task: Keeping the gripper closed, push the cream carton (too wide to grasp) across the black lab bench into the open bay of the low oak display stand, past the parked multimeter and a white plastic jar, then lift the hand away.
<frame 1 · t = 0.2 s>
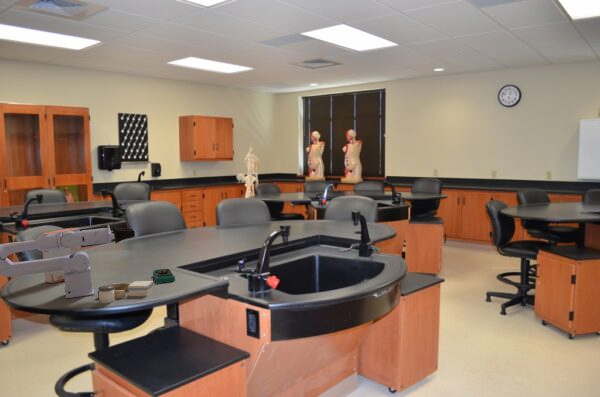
hand: (133, 232, 181), 22 cm above the worktop, tool horizontal, fingers open, 7 cm apart
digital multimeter: (163, 279, 196), on the worktop
display stand: (119, 293, 175), on the worktop
jar: (107, 301, 166), on the worktop
cracker box: (64, 279, 198), on the worktop
carton: (141, 293, 175), on the worktop
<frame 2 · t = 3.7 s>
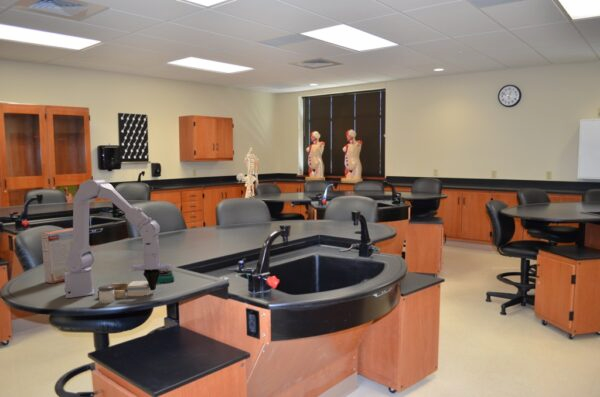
hand: (153, 289, 174), 1 cm above the worktop, tool pointing down, fingers closed
carton: (140, 293, 175), on the worktop, touching gripper
everything else where it was.
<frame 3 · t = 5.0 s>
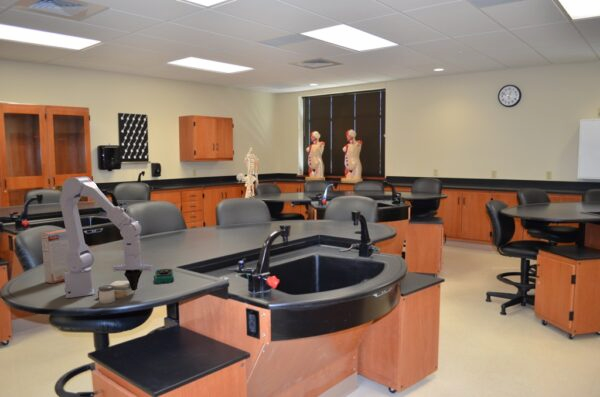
hand: (134, 289, 175), 1 cm above the worktop, tool pointing down, fingers closed
carton: (122, 293, 175), on the worktop, touching gripper
everything else where it was.
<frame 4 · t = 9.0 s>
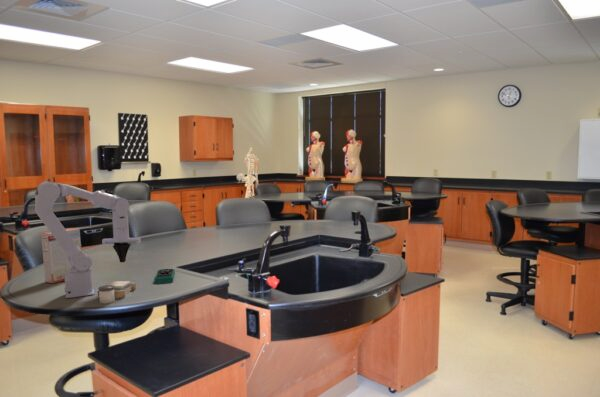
hand: (122, 261, 183), 10 cm above the worktop, tool pointing down, fingers closed
carton: (118, 293, 175), on the worktop
everything else where it was.
at the end: carton 0.5 cm from the display stand (horizontally); carton tilted 0°; the gripper is holding nothing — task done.
